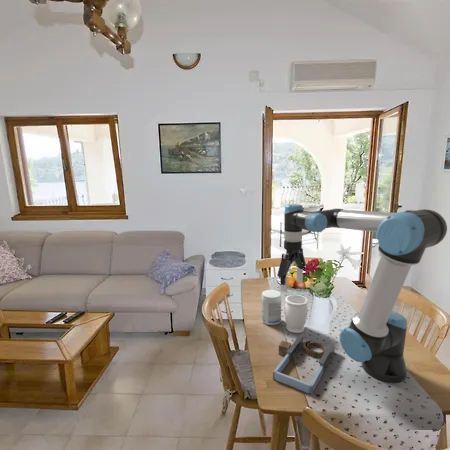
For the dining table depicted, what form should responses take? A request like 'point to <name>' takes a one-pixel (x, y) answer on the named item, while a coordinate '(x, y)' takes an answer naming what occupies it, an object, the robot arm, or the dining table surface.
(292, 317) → the jar
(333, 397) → the dining table surface
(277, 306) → the supplement tub
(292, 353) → the slot rail
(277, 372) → the tray
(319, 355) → the bracelet
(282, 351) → the brown wooden cube
